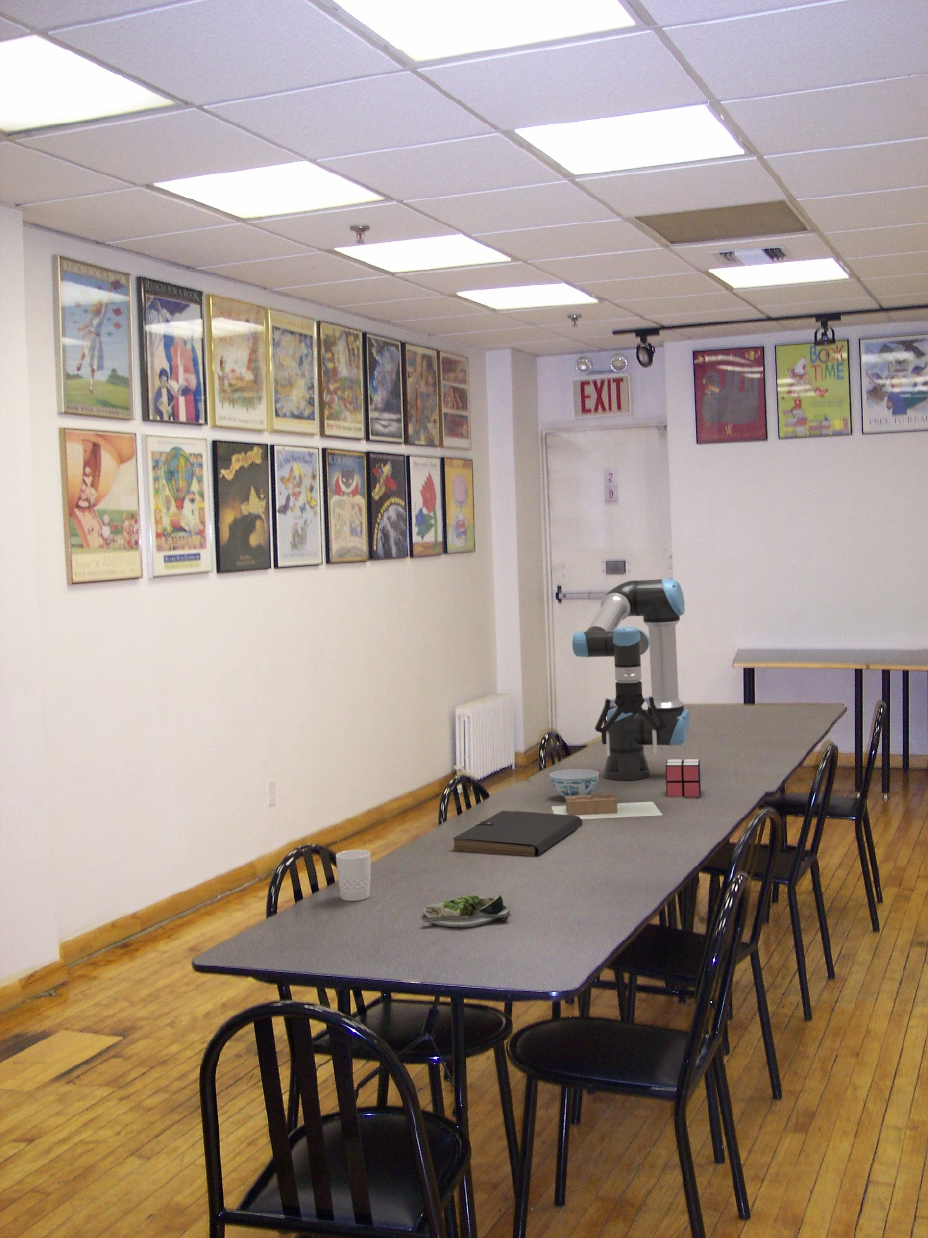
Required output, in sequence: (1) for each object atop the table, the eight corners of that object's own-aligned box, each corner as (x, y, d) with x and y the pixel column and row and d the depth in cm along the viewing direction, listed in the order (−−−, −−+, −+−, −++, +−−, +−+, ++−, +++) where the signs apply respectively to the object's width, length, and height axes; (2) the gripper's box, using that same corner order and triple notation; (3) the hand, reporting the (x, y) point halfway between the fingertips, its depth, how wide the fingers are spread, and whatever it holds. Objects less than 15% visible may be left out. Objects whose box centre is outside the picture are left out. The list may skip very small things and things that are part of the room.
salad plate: (440, 939, 249) (439, 916, 249) (403, 917, 265) (402, 896, 264) (522, 921, 258) (521, 900, 257) (482, 901, 274) (481, 881, 273)
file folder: (501, 809, 348) (582, 815, 338) (502, 823, 348) (582, 829, 338) (452, 836, 318) (538, 844, 308) (452, 852, 318) (539, 860, 308)
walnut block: (614, 807, 358) (566, 809, 358) (613, 793, 358) (565, 796, 358) (617, 813, 350) (568, 815, 350) (616, 799, 350) (567, 801, 350)
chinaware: (609, 797, 374) (608, 772, 374) (579, 806, 363) (578, 780, 363) (570, 791, 385) (569, 767, 384) (540, 800, 374) (539, 775, 373)
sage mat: (551, 807, 363) (551, 806, 363) (652, 803, 363) (652, 801, 363) (556, 821, 345) (556, 820, 345) (662, 816, 345) (662, 815, 345)
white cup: (338, 893, 284) (336, 851, 283) (372, 891, 285) (370, 848, 284) (337, 903, 276) (335, 859, 275) (372, 900, 277) (370, 857, 276)
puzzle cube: (700, 798, 367) (699, 765, 366) (666, 798, 369) (665, 765, 368) (700, 791, 377) (699, 759, 376) (667, 791, 379) (666, 759, 378)
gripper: (586, 685, 348) (589, 758, 350) (674, 680, 348) (677, 754, 350) (583, 681, 355) (587, 753, 357) (669, 677, 355) (672, 749, 357)
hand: (631, 754), depth 353 cm, fingers open, 13 cm apart
